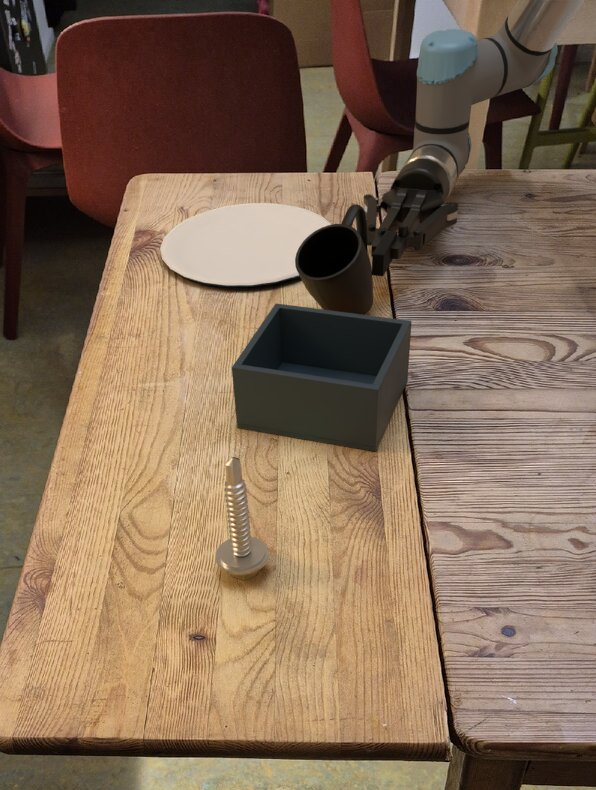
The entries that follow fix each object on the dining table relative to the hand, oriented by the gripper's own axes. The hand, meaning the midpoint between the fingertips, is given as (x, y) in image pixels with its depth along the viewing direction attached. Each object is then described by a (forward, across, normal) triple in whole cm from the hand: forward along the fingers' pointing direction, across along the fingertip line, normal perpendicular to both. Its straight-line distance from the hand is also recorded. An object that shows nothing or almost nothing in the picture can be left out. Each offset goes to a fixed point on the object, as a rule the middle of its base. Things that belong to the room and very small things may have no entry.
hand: (377, 265), depth 112 cm
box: (+21, 0, -6) cm, 22 cm away
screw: (+48, -1, -6) cm, 49 cm away
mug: (0, +2, -4) cm, 5 cm away
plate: (-12, +22, -6) cm, 26 cm away
